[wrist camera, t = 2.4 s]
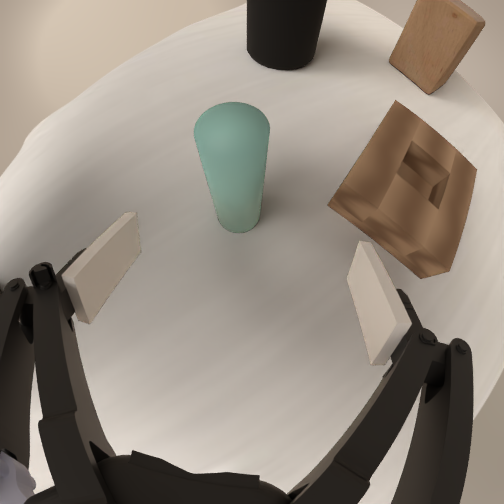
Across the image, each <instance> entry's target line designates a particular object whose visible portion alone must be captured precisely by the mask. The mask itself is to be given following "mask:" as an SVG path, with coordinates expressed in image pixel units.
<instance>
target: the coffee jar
mask: <svg viewBox="0 0 504 504" xmlns="http://www.w3.org/2000/svg"><path fill="white" fill-rule="evenodd" d="M326 3H327V0H247V51H248V53H249V54H250V56H251V57H252V58H253V59H254V60H255V61H256V62H258V63H259V64H261V65H263V66H266V67H268V68H273V69H277V70H293V69H298V68H301V67H303V66H305V65H306V64H308V63H309V62H310V61H311V60H312V59H313V57H314V54H315V50H316V46H317V42H318V37H319V33H320V29H321V24H322V20H323V16H324V11H325V7H326Z"/></svg>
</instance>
